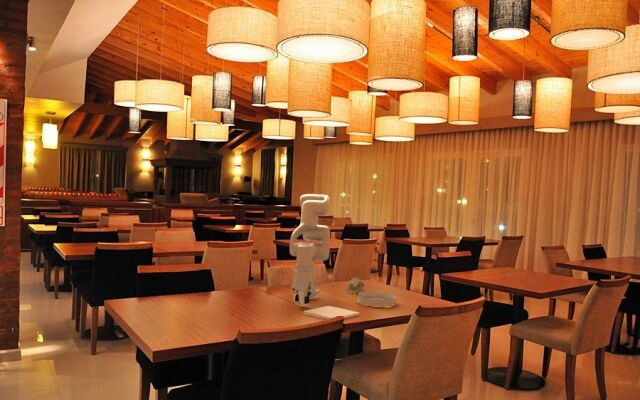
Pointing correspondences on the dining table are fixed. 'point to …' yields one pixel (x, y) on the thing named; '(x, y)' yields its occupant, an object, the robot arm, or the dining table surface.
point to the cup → (301, 297)
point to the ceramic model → (355, 286)
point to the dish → (376, 299)
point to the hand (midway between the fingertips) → (302, 301)
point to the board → (330, 312)
